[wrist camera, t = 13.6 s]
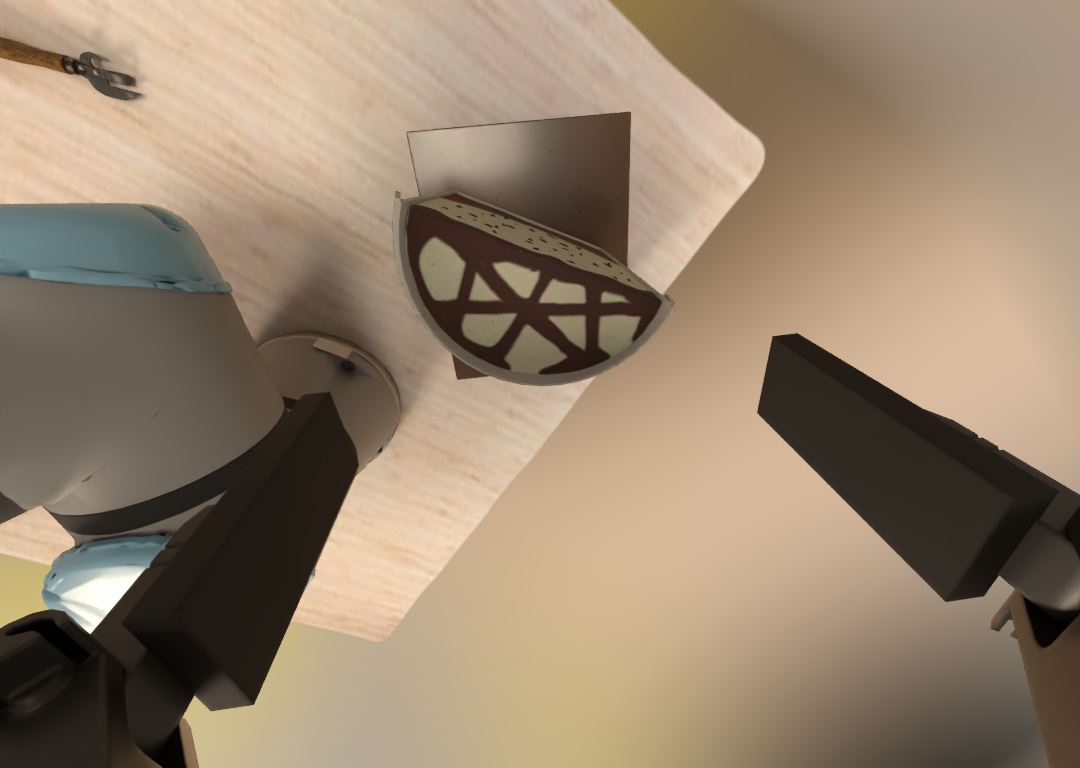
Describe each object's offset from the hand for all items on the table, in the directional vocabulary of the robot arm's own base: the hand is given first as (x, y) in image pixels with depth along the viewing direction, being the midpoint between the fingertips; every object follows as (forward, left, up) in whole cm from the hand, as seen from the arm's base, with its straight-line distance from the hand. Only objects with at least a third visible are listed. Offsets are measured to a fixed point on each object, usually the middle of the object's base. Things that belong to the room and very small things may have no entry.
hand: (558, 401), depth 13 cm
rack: (0, +1, -27) cm, 27 cm away
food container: (-1, 0, -16) cm, 16 cm away
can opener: (-30, +14, -27) cm, 43 cm away
